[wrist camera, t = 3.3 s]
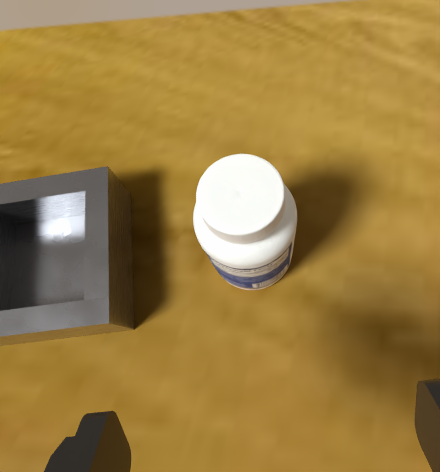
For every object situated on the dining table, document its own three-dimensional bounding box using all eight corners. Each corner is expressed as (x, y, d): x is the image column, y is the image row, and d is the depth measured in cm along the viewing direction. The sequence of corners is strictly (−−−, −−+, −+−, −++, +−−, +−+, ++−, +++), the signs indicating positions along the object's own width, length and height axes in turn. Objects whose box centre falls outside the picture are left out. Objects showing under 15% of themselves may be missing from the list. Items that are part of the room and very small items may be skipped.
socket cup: (7, 214, 30) (-36, 189, 26) (131, 195, 29) (107, 166, 25) (-3, 346, 27) (-55, 343, 23) (135, 330, 26) (109, 323, 22)
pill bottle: (223, 208, 28) (197, 131, 19) (299, 223, 27) (311, 148, 17) (203, 281, 26) (165, 236, 17) (282, 300, 25) (286, 263, 16)
